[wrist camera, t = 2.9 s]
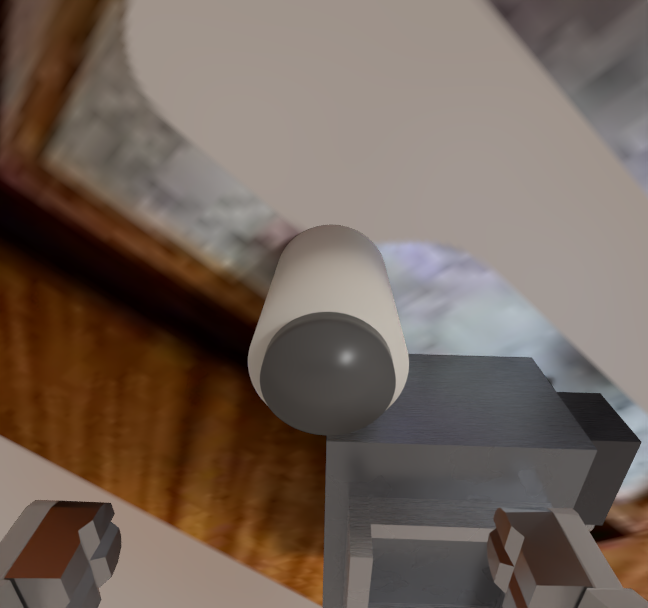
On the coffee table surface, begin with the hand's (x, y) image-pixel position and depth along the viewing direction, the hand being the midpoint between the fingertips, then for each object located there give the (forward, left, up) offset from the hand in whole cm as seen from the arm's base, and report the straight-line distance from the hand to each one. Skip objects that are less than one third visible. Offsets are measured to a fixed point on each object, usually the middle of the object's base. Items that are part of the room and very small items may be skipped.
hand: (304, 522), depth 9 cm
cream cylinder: (0, -1, -12) cm, 12 cm away
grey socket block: (-7, +10, -12) cm, 17 cm away
